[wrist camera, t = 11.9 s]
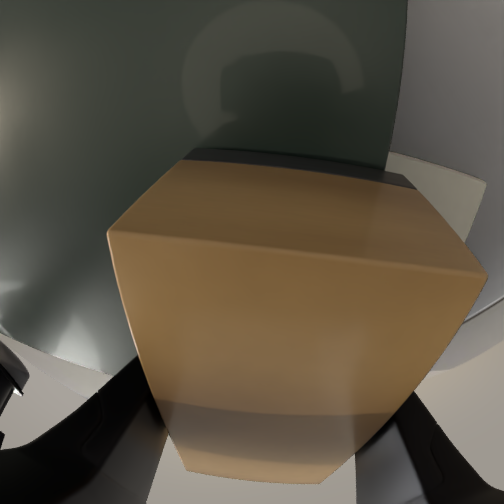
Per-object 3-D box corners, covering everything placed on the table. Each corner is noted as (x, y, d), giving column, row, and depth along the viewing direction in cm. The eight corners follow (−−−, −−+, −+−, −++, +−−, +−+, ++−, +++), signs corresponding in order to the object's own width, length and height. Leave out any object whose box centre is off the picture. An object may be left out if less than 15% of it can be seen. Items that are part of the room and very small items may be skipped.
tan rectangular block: (319, 400, 12) (319, 484, 9) (205, 388, 12) (186, 470, 9) (404, 174, 6) (491, 276, 3) (193, 147, 7) (103, 231, 3)
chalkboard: (304, 383, 14) (304, 409, 13) (-1, 313, 15) (-12, 327, 14) (386, -99, 3) (400, -118, 2) (-57, 10, 4) (-76, 14, 3)
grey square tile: (441, 277, 10) (445, 283, 9) (346, 263, 10) (347, 271, 10) (481, 179, 8) (487, 183, 7) (377, 147, 8) (381, 151, 7)
